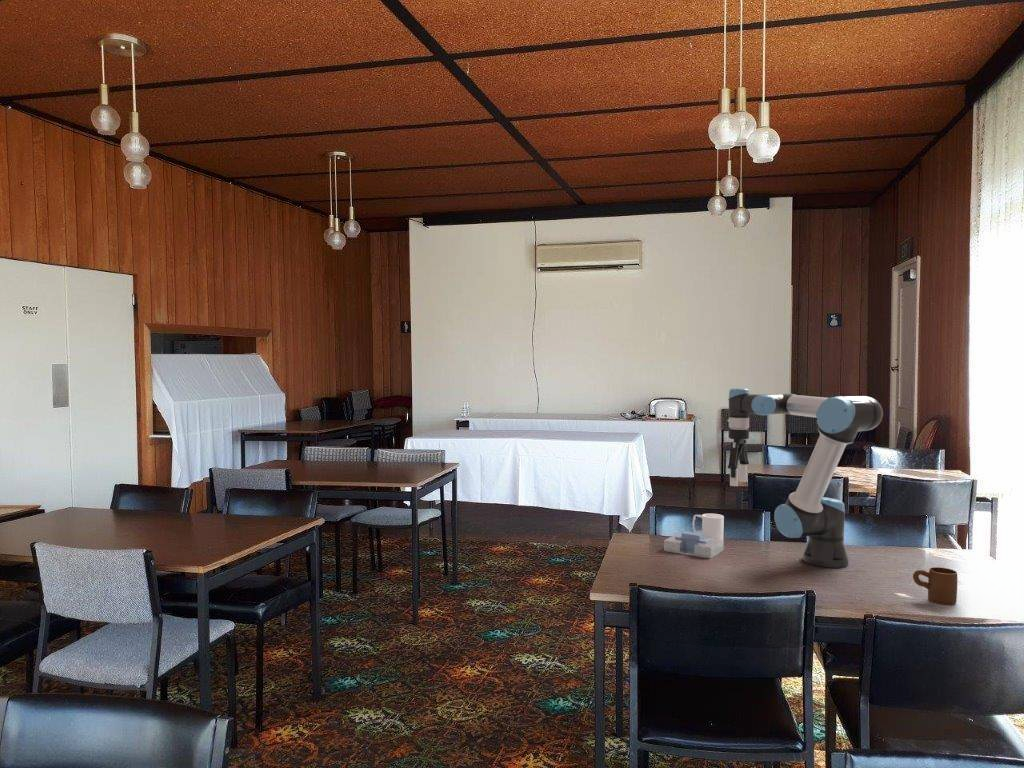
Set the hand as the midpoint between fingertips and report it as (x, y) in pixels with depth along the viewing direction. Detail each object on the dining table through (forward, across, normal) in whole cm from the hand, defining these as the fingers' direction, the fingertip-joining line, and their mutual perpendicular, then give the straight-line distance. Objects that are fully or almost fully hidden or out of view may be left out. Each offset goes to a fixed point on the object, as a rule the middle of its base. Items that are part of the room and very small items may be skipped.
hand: (738, 483), depth 289 cm
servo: (+24, +16, -13) cm, 32 cm away
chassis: (+24, +16, -12) cm, 31 cm away
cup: (+24, -2, -12) cm, 27 cm away
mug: (+26, +32, +67) cm, 79 cm away
